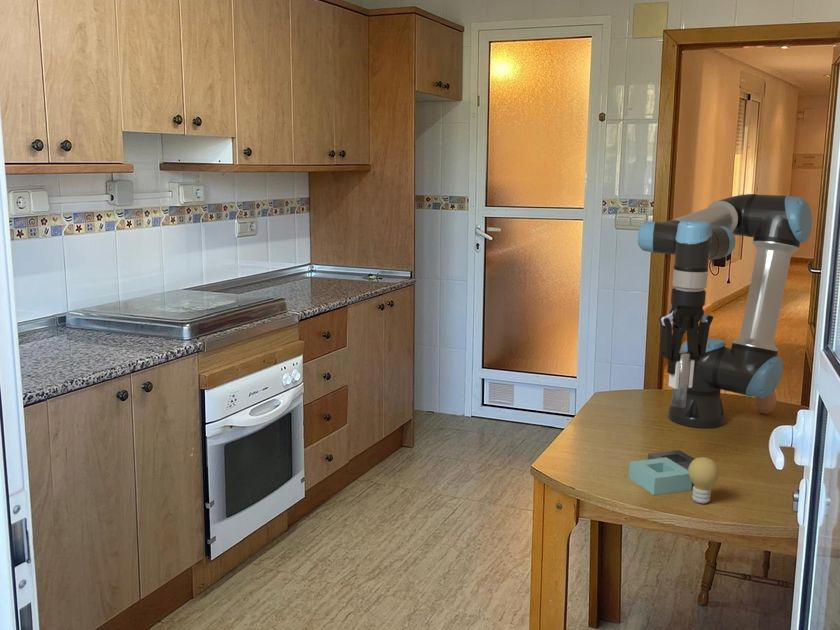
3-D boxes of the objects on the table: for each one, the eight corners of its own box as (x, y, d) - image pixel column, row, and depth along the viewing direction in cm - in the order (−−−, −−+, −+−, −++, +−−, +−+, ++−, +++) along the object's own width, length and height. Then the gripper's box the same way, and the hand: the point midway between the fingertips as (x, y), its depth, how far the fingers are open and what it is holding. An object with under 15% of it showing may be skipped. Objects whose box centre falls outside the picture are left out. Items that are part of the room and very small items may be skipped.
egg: (768, 410, 247) (771, 383, 245) (778, 416, 242) (782, 388, 240) (749, 410, 246) (752, 383, 245) (760, 417, 241) (763, 389, 239)
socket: (665, 473, 199) (666, 457, 198) (691, 489, 189) (692, 473, 189) (628, 478, 195) (629, 461, 195) (653, 495, 186) (654, 478, 185)
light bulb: (684, 504, 182) (688, 461, 180) (686, 493, 187) (690, 451, 185) (715, 509, 179) (719, 465, 177) (716, 498, 185) (720, 455, 183)
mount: (678, 459, 207) (679, 450, 207) (701, 473, 199) (702, 463, 199) (647, 463, 204) (648, 453, 204) (669, 477, 196) (670, 467, 196)
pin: (680, 403, 200) (684, 350, 197) (688, 407, 197) (693, 353, 194) (668, 404, 199) (673, 351, 196) (676, 408, 196) (681, 354, 193)
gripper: (708, 284, 198) (699, 379, 203) (649, 286, 193) (641, 384, 198) (729, 289, 191) (719, 388, 196) (668, 292, 186) (660, 393, 191)
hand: (680, 386), depth 197 cm, fingers closed on pin, 3 cm apart
